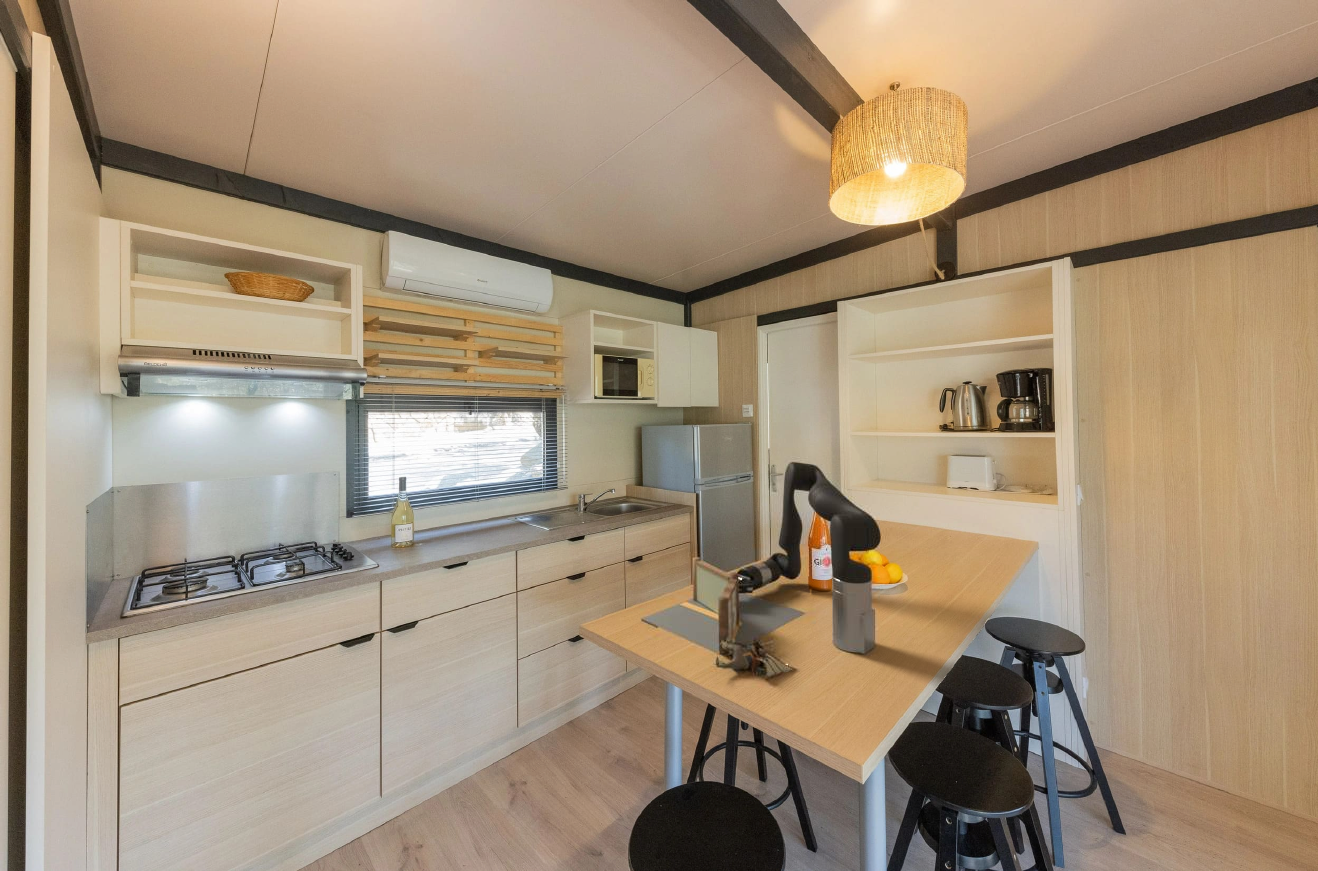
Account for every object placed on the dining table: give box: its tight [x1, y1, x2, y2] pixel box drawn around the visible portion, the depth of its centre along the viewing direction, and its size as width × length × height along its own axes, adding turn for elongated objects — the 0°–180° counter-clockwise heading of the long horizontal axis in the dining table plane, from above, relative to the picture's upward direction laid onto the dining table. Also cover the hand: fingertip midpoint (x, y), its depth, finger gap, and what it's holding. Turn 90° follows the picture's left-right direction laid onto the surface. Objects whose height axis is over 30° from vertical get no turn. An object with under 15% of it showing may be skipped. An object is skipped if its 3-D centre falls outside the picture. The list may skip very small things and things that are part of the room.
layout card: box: [640, 593, 806, 657], centre depth 140 cm, size 31×37×1 cm
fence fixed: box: [718, 572, 739, 656], centre depth 126 cm, size 20×2×14 cm, turn 162°
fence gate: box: [692, 556, 730, 613], centre depth 145 cm, size 20×2×13 cm, turn 27°
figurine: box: [714, 636, 798, 681], centre depth 111 cm, size 20×6×17 cm
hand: (717, 590), depth 144 cm, fingers closed
